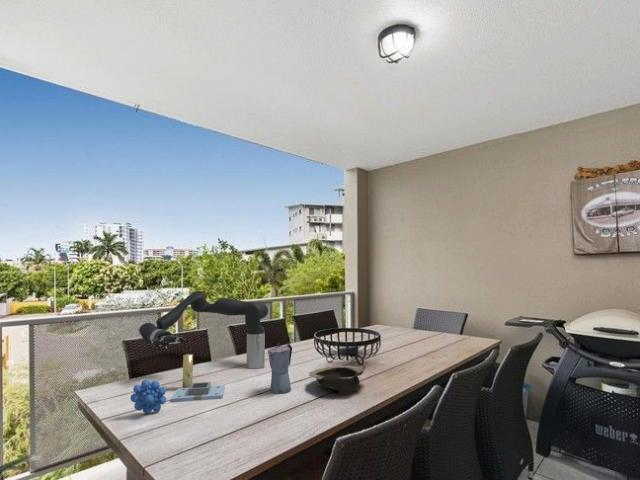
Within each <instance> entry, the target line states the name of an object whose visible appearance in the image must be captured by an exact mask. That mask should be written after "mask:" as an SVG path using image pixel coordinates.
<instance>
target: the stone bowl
mask: <svg viewBox="0 0 640 480" xmlns="http://www.w3.org/2000/svg"><path fill="white" fill-rule="evenodd" d="M365 370H366V366H365V365H364V366H359V367H358V366H354V365H353V366H351V365H338V366H337V365H334V366H327V367H321V368H317V369H314V370H312V371H310V372H309V373H308V376H310V377H312V378H315V380H316V382H317V384H318V385H319V386H321V387H324V388H327V389H329V388H331V389H332V390H337V394H338V395H340V396H343V395H349V394H351V393H352V394H353V393H354V391H357V390H359V388H360V383H361V382H360V378H359V376H362V375H363V373H364V371H365Z"/></svg>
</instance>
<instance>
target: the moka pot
mask: <svg viewBox="0 0 640 480" xmlns="http://www.w3.org/2000/svg"><path fill="white" fill-rule="evenodd" d="M281 344H282V343H281V342H280V341H279V342H277V343H276V346H274V347H270V348H268V350H267V353H268V354H267V355H268V359H269V367H270V369H271V377H270V378H271V379H270V380H271V381H270V390H269V391H270V392H271V393H272V394H276V395H279V394H285V393H288V392H290V391H291V390H292V385H291V381H290V380H291V379H290V374H289V366H291V359H292V353H293V347H292V346H291V344H290V343H288V344H285V345H281Z"/></svg>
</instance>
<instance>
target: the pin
mask: <svg viewBox="0 0 640 480" xmlns="http://www.w3.org/2000/svg"><path fill="white" fill-rule="evenodd" d="M193 368H194V354H193V353H186V354H183V355H182V387H181V388H189V387H190V385H191V383H193V375H194V374H193V373H194V372H193Z"/></svg>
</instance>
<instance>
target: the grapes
mask: <svg viewBox="0 0 640 480" xmlns="http://www.w3.org/2000/svg"><path fill="white" fill-rule="evenodd" d="M132 390H133V393H132V394H131V395H130V401H131V402H132V403H134V405H133V406H134V409H135V411H142V412H143V414H145V415H149V414H151V413H152V411H154V412H156V413H157V412H159V411H160V410H161V409H162V405H164V404H165V403H166V402H167V397H166V396H165V394H166V392H167V390H166V388H165V386H164V387H163V386H161V385H160V382H159V381H158V380H153V381H150V380H148V379H144V380H142V381H141V383H140V384H136V385H134V386H133V389H132Z"/></svg>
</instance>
